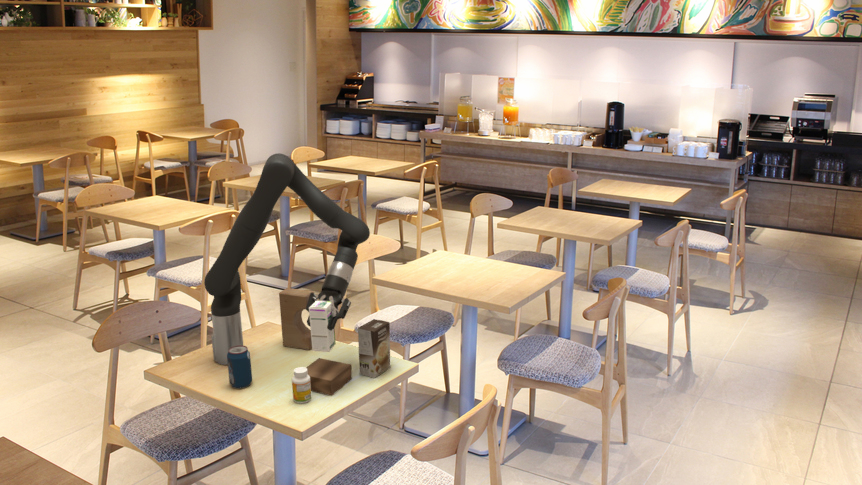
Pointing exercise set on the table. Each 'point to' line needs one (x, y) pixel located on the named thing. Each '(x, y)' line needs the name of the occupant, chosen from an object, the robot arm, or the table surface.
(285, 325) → the decorative block
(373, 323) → the coffee box
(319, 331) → the syrup box
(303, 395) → the supplement bottle
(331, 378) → the walnut block
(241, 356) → the soda can
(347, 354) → the table surface
